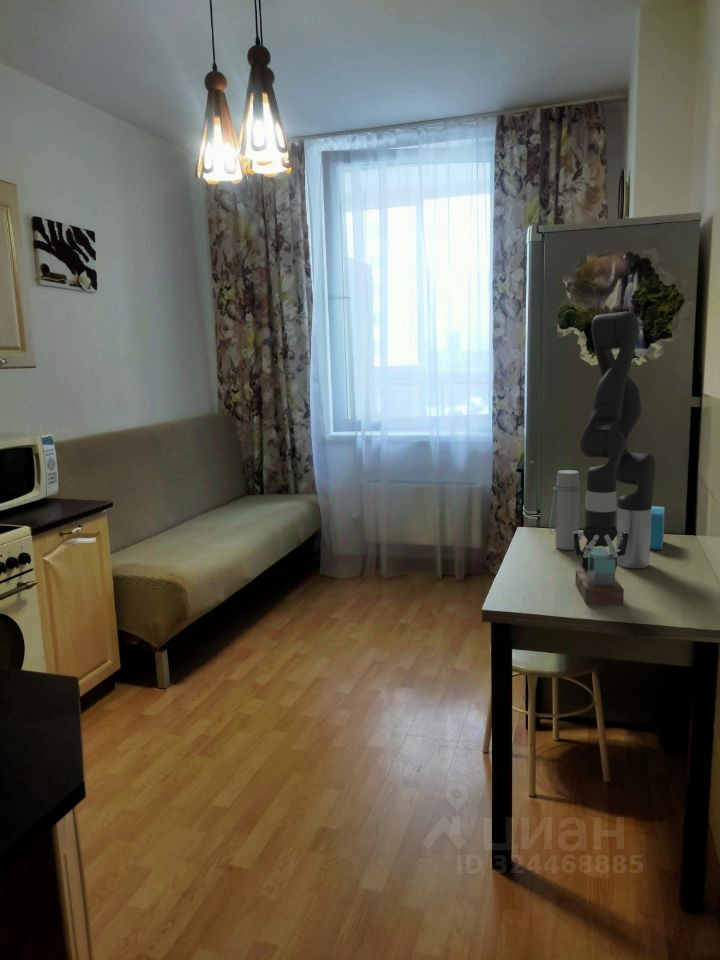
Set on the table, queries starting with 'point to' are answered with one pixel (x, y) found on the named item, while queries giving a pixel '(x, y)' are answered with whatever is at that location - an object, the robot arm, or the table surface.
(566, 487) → the water bottle
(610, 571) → the block
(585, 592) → the walnut stand
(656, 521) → the data package
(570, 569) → the table surface
